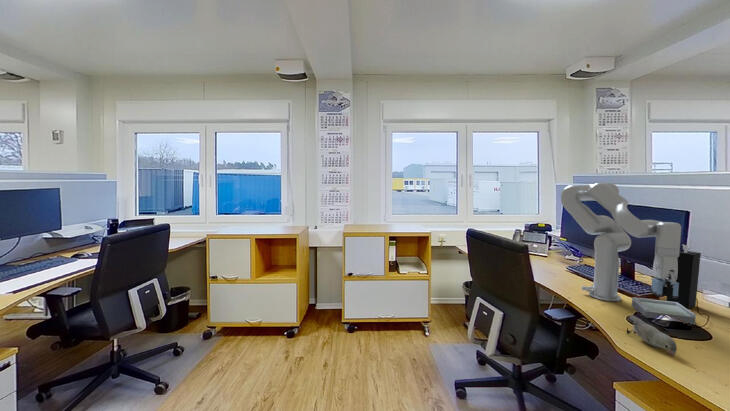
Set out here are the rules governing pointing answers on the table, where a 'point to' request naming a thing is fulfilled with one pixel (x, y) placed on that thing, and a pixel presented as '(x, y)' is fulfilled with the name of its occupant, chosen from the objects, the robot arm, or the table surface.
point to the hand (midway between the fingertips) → (664, 293)
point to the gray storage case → (658, 288)
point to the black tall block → (687, 277)
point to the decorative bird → (653, 335)
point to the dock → (663, 309)
